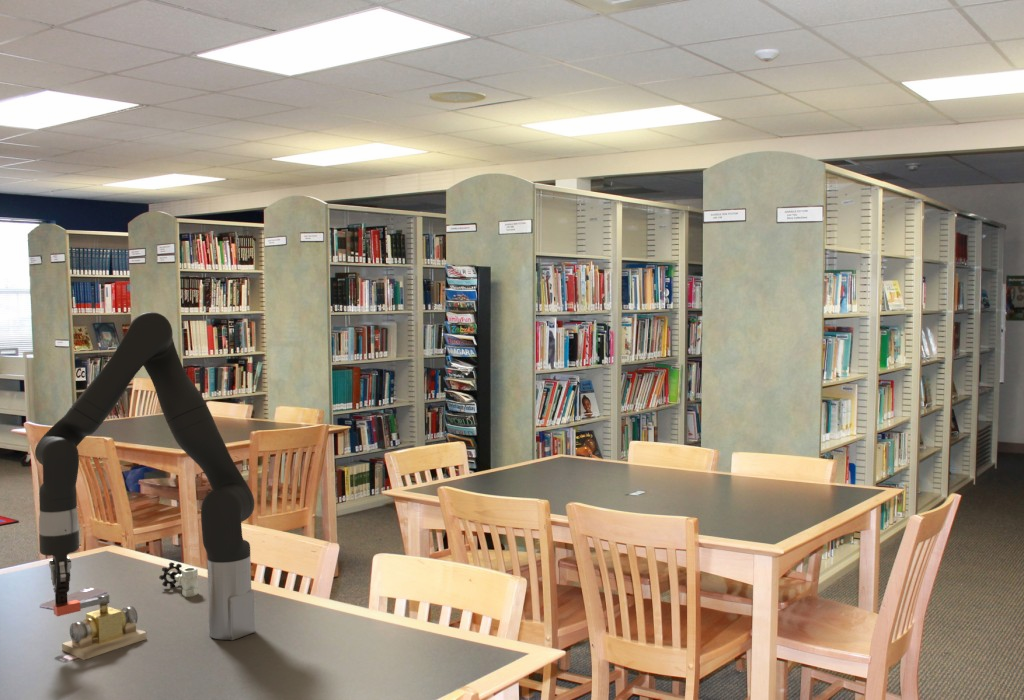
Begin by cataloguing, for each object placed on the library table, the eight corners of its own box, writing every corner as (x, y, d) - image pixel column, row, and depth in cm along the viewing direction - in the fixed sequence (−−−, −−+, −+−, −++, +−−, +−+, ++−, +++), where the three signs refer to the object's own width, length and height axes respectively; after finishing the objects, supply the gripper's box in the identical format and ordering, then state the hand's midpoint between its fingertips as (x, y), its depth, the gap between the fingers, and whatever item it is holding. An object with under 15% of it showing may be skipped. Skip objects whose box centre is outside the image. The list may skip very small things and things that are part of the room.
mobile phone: (37, 604, 216) (88, 586, 230) (37, 608, 216) (88, 590, 230) (59, 608, 213) (109, 589, 226) (59, 612, 213) (109, 593, 227)
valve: (206, 593, 225) (183, 584, 233) (205, 567, 224) (182, 559, 232) (182, 599, 220) (159, 590, 228) (181, 574, 220) (158, 565, 228)
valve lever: (107, 601, 192) (106, 592, 192) (111, 603, 190) (111, 595, 190) (53, 613, 184) (53, 605, 184) (57, 616, 182) (57, 607, 182)
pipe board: (146, 638, 194) (145, 622, 193) (84, 659, 182) (83, 642, 182) (124, 630, 199) (123, 614, 199) (62, 650, 188) (61, 633, 187)
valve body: (139, 631, 194) (138, 597, 194) (81, 649, 184) (80, 614, 183) (126, 626, 197) (125, 593, 197) (68, 644, 187) (67, 610, 186)
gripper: (82, 534, 182) (84, 615, 183) (75, 520, 193) (77, 597, 195) (41, 539, 178) (44, 622, 179) (36, 524, 189) (39, 603, 191)
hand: (61, 609), depth 187 cm, fingers closed
